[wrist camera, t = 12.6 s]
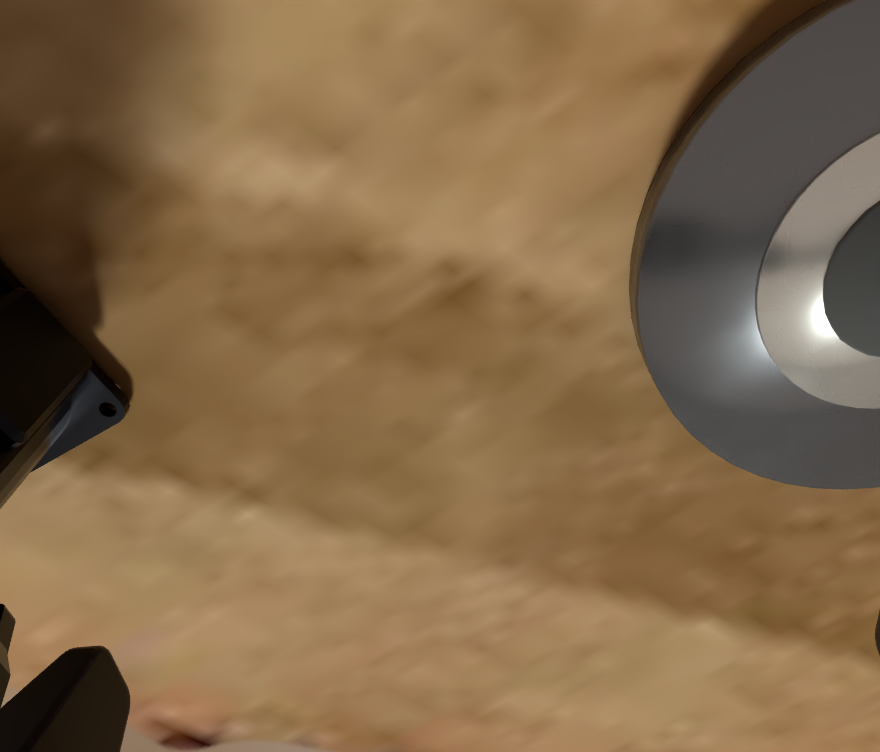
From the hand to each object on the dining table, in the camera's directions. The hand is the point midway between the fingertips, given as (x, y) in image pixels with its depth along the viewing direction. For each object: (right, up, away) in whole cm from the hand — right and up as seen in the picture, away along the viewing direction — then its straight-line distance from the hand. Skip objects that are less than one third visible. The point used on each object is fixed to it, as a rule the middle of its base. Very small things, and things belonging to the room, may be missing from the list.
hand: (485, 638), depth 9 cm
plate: (+12, +6, +11) cm, 18 cm away
